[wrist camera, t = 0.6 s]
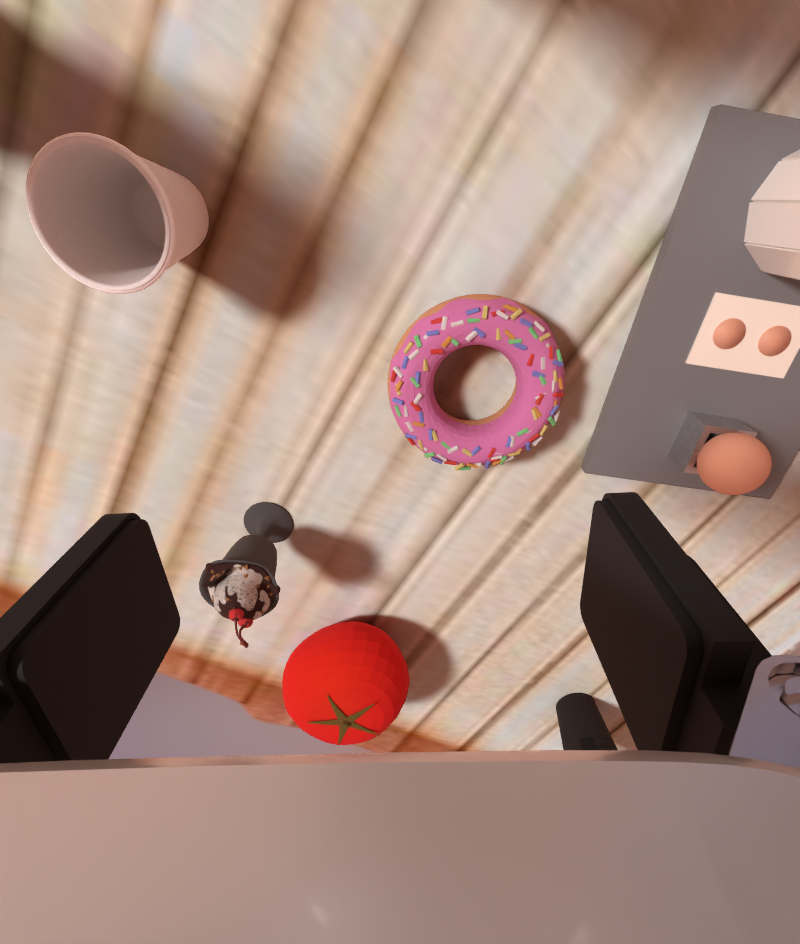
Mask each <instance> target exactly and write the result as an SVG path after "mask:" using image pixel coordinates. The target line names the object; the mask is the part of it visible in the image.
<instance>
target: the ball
mask: <svg viewBox="0 0 800 944" xmlns="http://www.w3.org/2000/svg"><path fill="white" fill-rule="evenodd" d="M771 466H772V461H771V456H770V453H769V451H768V449H767V448H766V446H765V445H764V444H763V443H762V442H761V441H760V440H758V439H757V438H755V437H753V436H751V435H748V434H745V433H738V432H731V433H724V434H721V435H718V436H716V437H714V438H712V439H711V440H709V441H708V442H707V443H706V444H705V445H704V446H703V447H702V449H701V450H700V452H699V454H698V457H697V470H698V474H699V476H700V478H701V479H702V481H703V482H704V483H705V484H706V485H707V486H708V487H710V488H711V489H713V490H715V491H717V492H719V493H723V494H728V495H740V494H745V493H748V492H751V491H753V490H755V489H757V488H758V487H760V486H761V485H762V484H763V483H764V482H765V481H766V479H767V478H768V476H769V474H770V471H771Z"/></svg>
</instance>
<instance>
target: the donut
mask: <svg viewBox="0 0 800 944" xmlns="http://www.w3.org/2000/svg"><path fill="white" fill-rule="evenodd" d="M469 345H483V346H488V347H492V348H494V349H496V350H498V351H500V352H501V353H502V354H504V355H505V356H506V357H507V358H508V360H509V361H510V363H511V364H512V366H513V368H514V371H515V375H516V385H515V389H514V391H513V394H512V396H511V398H510V399H509V401H508V402H507V404H506V405H505V406H504V407H503V408H502V409H501V410H499V411H498V412H497V413H495V414H493V415H492V416H489V417H486V418H484V419H479V420H462V419H457V418H455V417H453V416H451V415H449V414H447V413H446V412H444V411H443V410H442V409H441V408H440V407H439V405H438V403H437V401H436V399H435V394H434V389H433V384H434V376H435V373H436V371H437V368H438V367H439V365H440V364H441V362H442V361H443V360H444V359H445V358H446V357H447V356H448V355H449V354H450V353H452V352H453V351H455V350H457V349H460V348H462V347H465V346H469ZM563 364H564V363H563V360H562V357H561V353H560V349H559V347H558V345H557V343H556V341H555V338H554V336H553V333H552V331H551V329H550V328H549V326H548V325H547V323H546V322H545V321H544V320H542V319H541V318H539V317H538V316H537V315H536V314H535V313H534V312H532V311H531V310H530V309H529V308H527V307H525V306H524V305H522V304H520V303H518V302H516V301H514V300H511V299H507V298H504V297H501V296H495V295H488V294H473V295H466V296H460V297H457V298H454V299H451V300H448V301H445V302H443V303H440V304H438V305H436V306H435V307H433V308H431V309H429V310H428V311H427V312H425V313H424V314H423V315H421V316H420V317H419V318H418V319H417V320H416V321H415V322H414V323H413V324H412V325H411V326H410V327H409V328H408V330H407V331H406V332H405V334H404V335H403V337H402V338H401V340H400V341H399V343H398V345H397V347H396V349H395V351H394V354H393V356H392V360H391V363H390V368H389V374H388V394H389V400H390V405H391V409H392V411H393V414H394V416H395V418H396V420H397V422H398V425H399V427H400V428H401V430H402V431H403V433H404V434H405V437H407V439H408V440H409V442H410V443H411V444H412V445H416V446H417V447H418V448H419V449H420V450H421V451H423V452H424V453H425V457H426V458H428V457H432V458H431V460H432V461H435V462H437V463H440V464H442V462H443V461H444V464H451V465H458V466H456V467H455V470H470V468H471V467H474V468H478V466H481V465H485V468H486V469H487V468H489V467H490V463H492V464H493V466H495V465H497V464H500V465H502V464H503V463H505V462H508V461H510V460H512V459H514V456H515V455H520V452H522V451H524V450H525V449H526V450H527V451H530V450H531V447H530V444H531V443H532V442H533V443H532V444H533V445H534V446H536V445H537V443H538V442H539V441H540V440H541V439H542V438H543V437H542V435H543V433H544V432H545V431H546V429H547V428H548V425H549V423H551V425H552V426H555V424H556V422H557V419H558V416H559V413H560V410H558V408H559V405H560V402H561V398H562V397H563V396H564V393H563V390H564V379H565V371H564V365H563Z"/></svg>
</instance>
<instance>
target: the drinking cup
mask: <svg viewBox="0 0 800 944" xmlns="http://www.w3.org/2000/svg"><path fill="white" fill-rule="evenodd" d="M556 711H557V716H558V722H559V727H560V733H561V738H562V744H563V749H564V750H617V748H616V745H615V743H614V741H613V739H612V737H611V735H610V733H609V731H608V729H607V727H606V724H605V722H604V720H603V718H602V716H601V714H600V712H599V710H598V708H597V706H596V704H595V701H594V700H593V698H592V697H590V696H589V695H587V694H583V693H573V694H569V695H566V696H564V697H563V698H561V699H560V700H559V701H558V703H557V705H556Z"/></svg>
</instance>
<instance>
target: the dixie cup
mask: <svg viewBox="0 0 800 944" xmlns="http://www.w3.org/2000/svg"><path fill="white" fill-rule="evenodd" d="M26 202H27V208H28V212H29V216H30V219H31V222H32V225H33V228H34V230H35V232H36V234H37V236H38V238H39V240H40V242H41V243H42V245H43V246H44V248H45V249H46V251H47V252H48V253H49V255H50V256H51V257H52V258H53V260H54V261H55V262H56V263H57V264H58V265H59V266H60V267H61V268H62V269H63V270H65V271H66V272H67V273H68V274H69V275H71V276H72V277H74V278H75V279H77V280H78V281H80V282H82V283H83V284H85V285H87V286H89V287H92V288H94V289H97V290H100V291H104V292H108V293H117V294H125V293H133V292H137V291H140V290H142V289H145V288H147V287H149V286H150V285H152V284H153V283H154V282H156V281H157V280H158V279H159V278H160V277H161V276H162V274H163V273H164V272H165V270H167V269H168V268H169V267H171V266H172V265H174V264H175V263H177V262H178V261H179V260H181V259H182V258H184V257H186V256H187V255H189V254H190V253H192V252H193V251H194V250H195V249H197V248H198V247H199V246H200V245H201V244H202V242H203V241H204V239H205V237H206V235H207V232H208V226H209V216H208V210H207V206H206V204H205V201H204V199H203V197H202V195H201V193H200V192H199V190H198V189H197V188H196V187H195V186H194V184H193V183H191V182H190V181H189V180H188V179H187V178H185V177H184V176H182V175H180V174H178V173H176V172H174V171H171V170H169V169H167V168H165V167H163V166H160V165H158V164H156V163H154V162H151V161H149V160H147V159H145V158H142V157H140V156H138V155H136V154H134V153H133V152H132V151H130V150H129V149H128V148H126V147H125V146H123V145H121V144H120V143H118V142H116V141H114V140H112V139H109V138H107V137H104V136H101V135H97V134H93V133H86V132H75V133H68V134H64V135H61V136H58V137H56V138H54V139H52V140H51V141H49V142H48V143H46V144H45V145H44V146H43V147H42V148H41V149H40V150H39V151H38V153H37V154H36V156H35V157H34V159H33V161H32V163H31V165H30V168H29V171H28V175H27V181H26Z"/></svg>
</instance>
